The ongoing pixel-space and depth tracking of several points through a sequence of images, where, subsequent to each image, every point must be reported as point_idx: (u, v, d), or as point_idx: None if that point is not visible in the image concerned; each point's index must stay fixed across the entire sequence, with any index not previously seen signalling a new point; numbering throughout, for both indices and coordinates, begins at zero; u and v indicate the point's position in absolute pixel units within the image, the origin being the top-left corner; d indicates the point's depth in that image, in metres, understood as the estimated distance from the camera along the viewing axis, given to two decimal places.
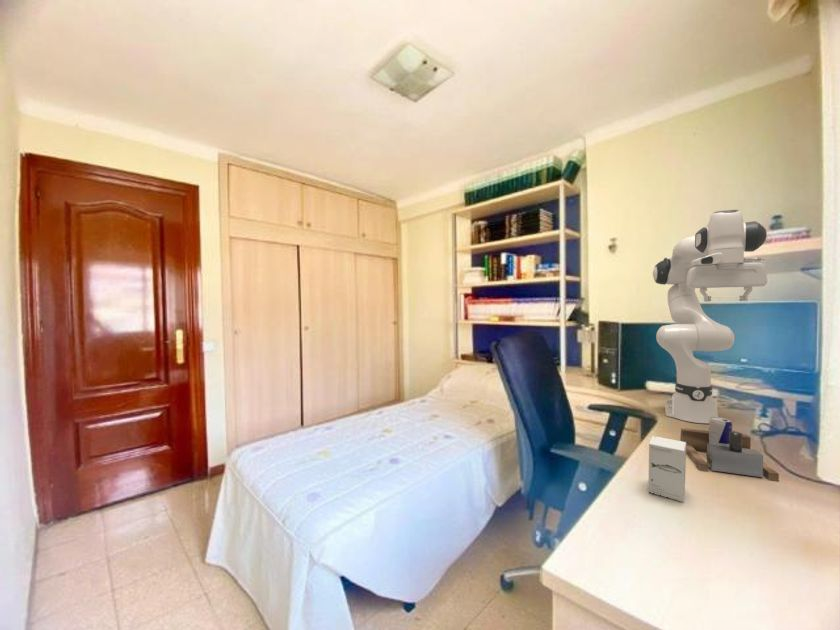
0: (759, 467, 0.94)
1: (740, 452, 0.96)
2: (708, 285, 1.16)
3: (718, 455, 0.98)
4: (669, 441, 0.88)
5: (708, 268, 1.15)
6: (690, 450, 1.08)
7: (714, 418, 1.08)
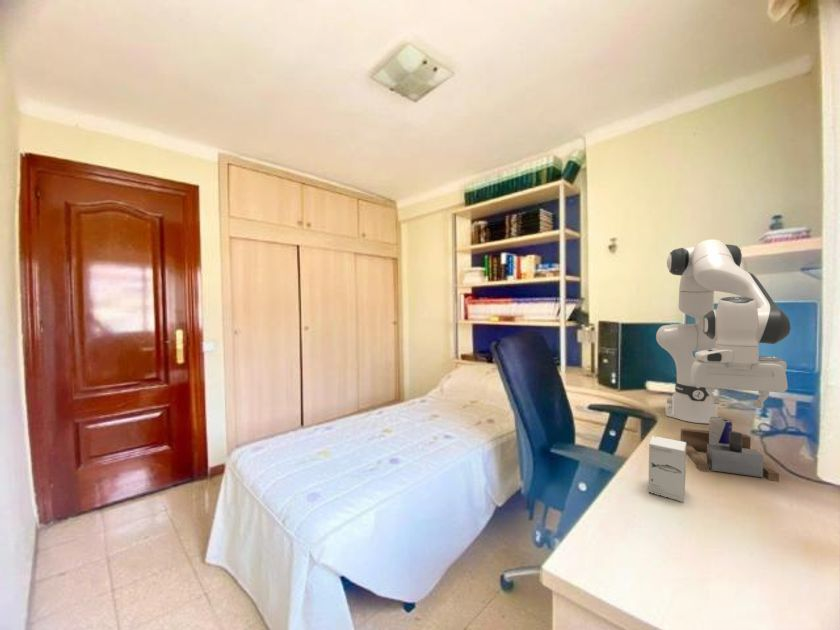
0: (759, 467, 0.94)
1: (740, 452, 0.96)
2: (716, 386, 0.97)
3: (718, 455, 0.98)
4: (669, 441, 0.88)
5: (716, 366, 0.96)
6: (690, 450, 1.08)
7: (714, 418, 1.08)
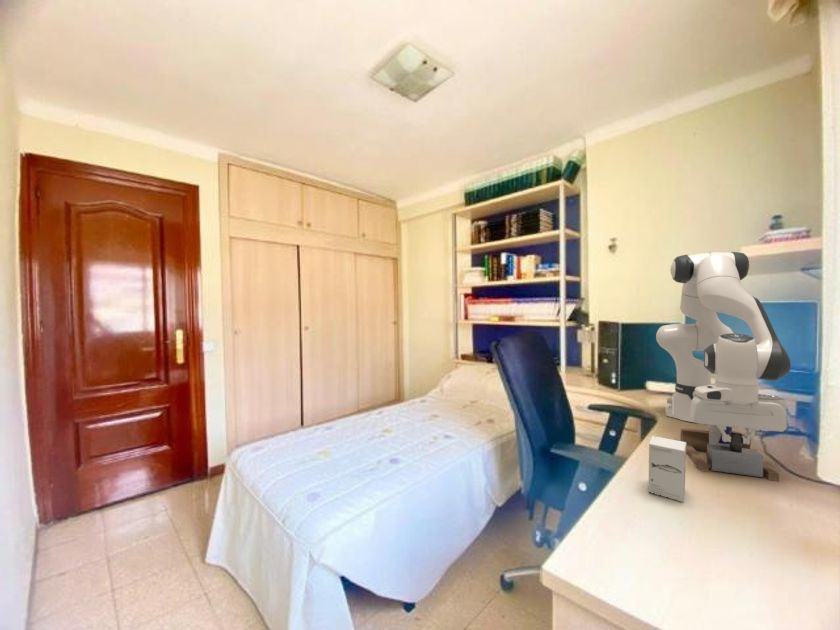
0: (759, 467, 0.94)
1: (740, 452, 0.96)
2: (715, 423, 0.97)
3: (718, 455, 0.98)
4: (669, 441, 0.88)
5: (715, 404, 0.97)
6: (690, 450, 1.08)
7: None
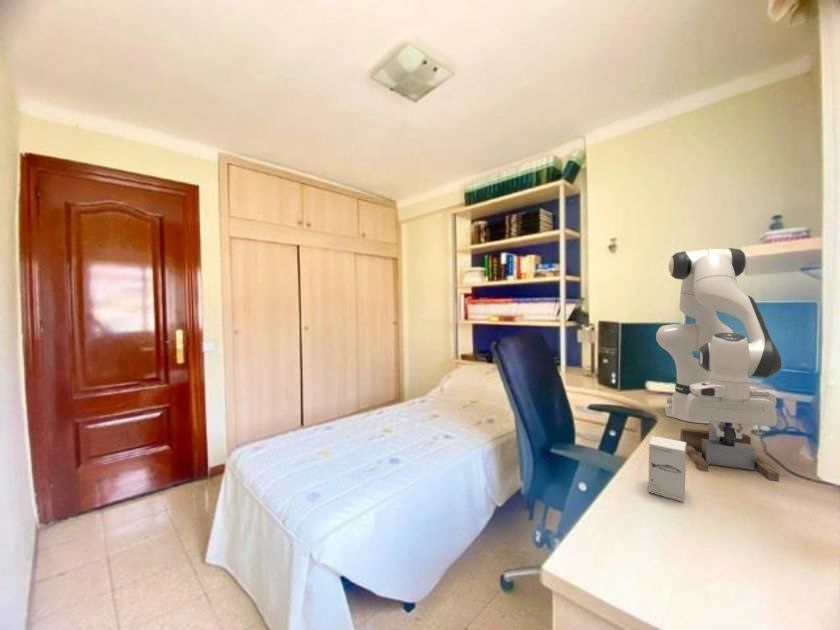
0: (751, 460, 0.99)
1: (733, 446, 1.00)
2: (709, 418, 1.02)
3: (712, 449, 1.02)
4: (669, 441, 0.88)
5: (709, 400, 1.01)
6: (690, 450, 1.08)
7: None
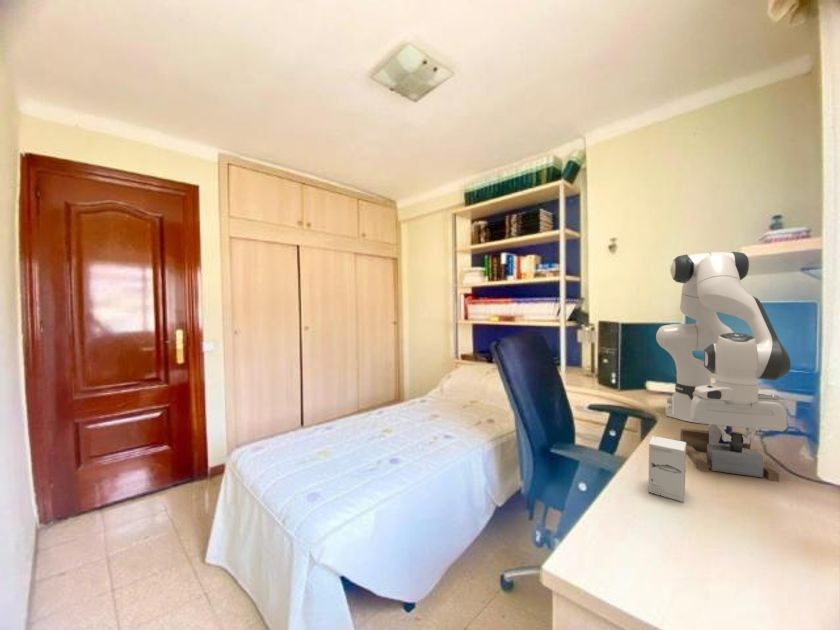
0: (759, 467, 0.94)
1: (740, 452, 0.96)
2: (715, 423, 0.97)
3: (718, 455, 0.98)
4: (669, 441, 0.88)
5: (715, 403, 0.97)
6: (690, 450, 1.08)
7: None
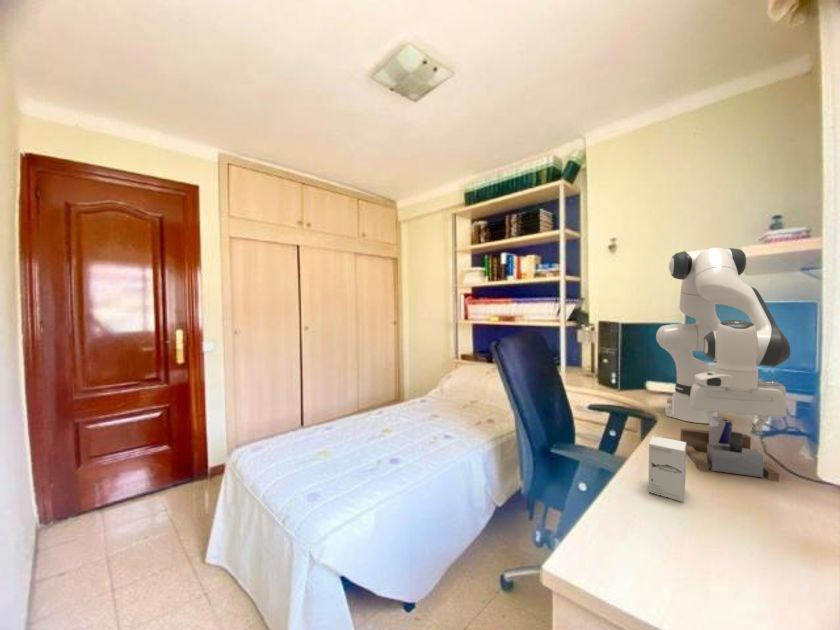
0: (759, 467, 0.94)
1: (740, 452, 0.96)
2: (715, 409, 0.98)
3: (719, 456, 0.98)
4: (669, 441, 0.88)
5: (715, 390, 0.97)
6: (690, 450, 1.08)
7: (714, 418, 1.08)
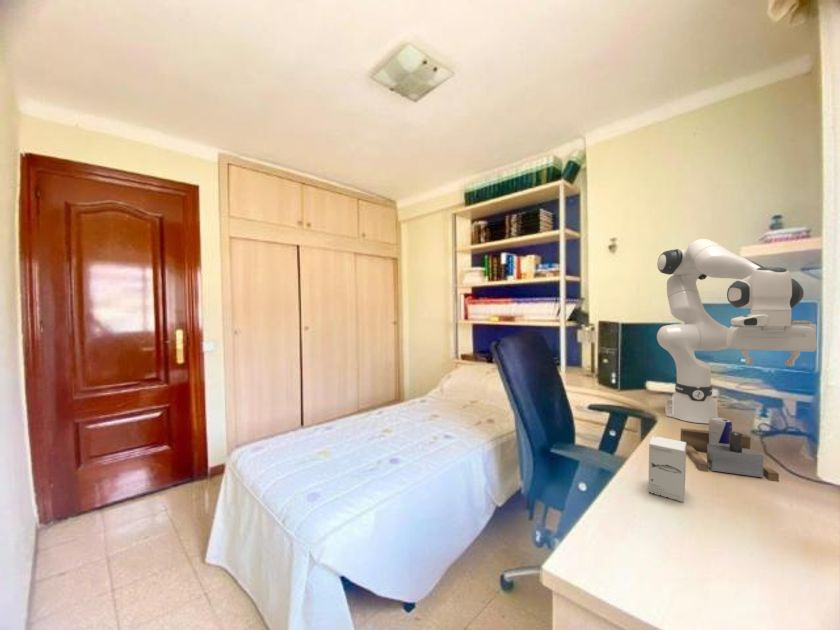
0: (759, 467, 0.94)
1: (740, 452, 0.96)
2: (751, 347, 1.08)
3: (719, 456, 0.98)
4: (669, 441, 0.88)
5: (751, 330, 1.07)
6: (690, 450, 1.08)
7: (714, 418, 1.08)
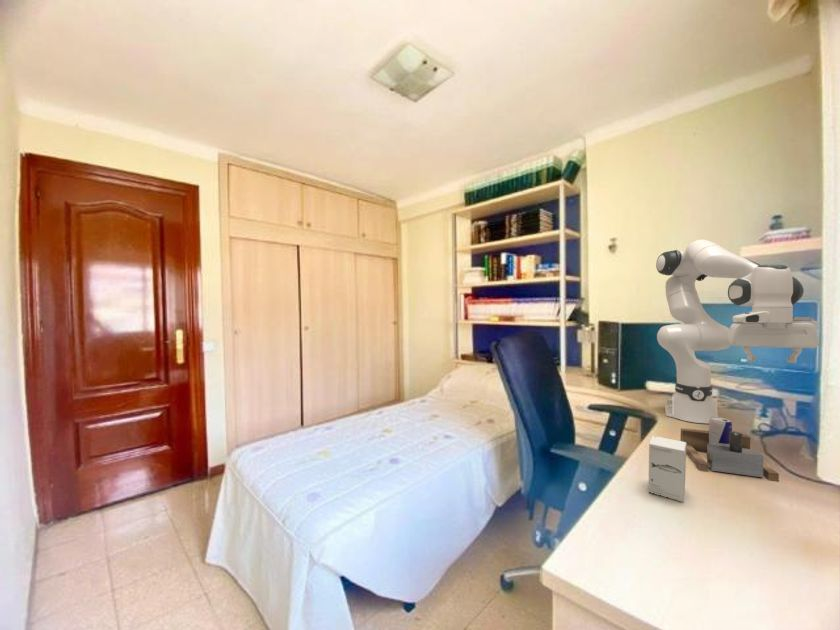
0: (759, 467, 0.94)
1: (740, 452, 0.96)
2: (753, 344, 1.08)
3: (719, 456, 0.98)
4: (669, 441, 0.88)
5: (753, 326, 1.08)
6: (690, 450, 1.08)
7: (714, 418, 1.08)
